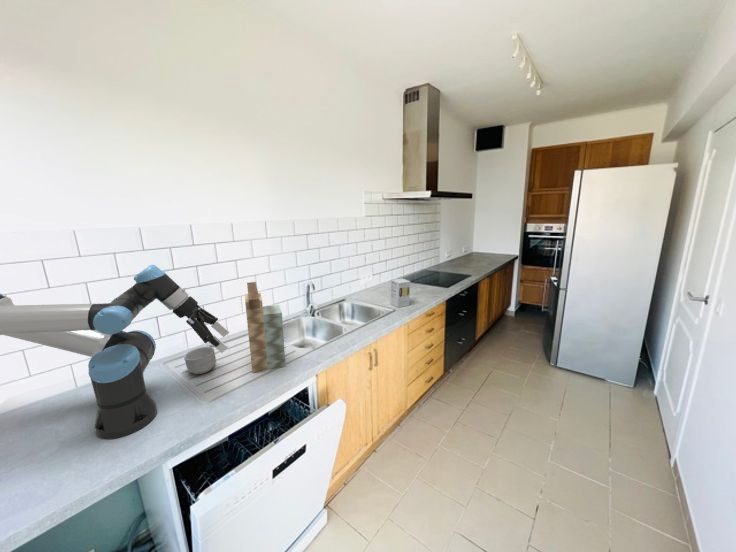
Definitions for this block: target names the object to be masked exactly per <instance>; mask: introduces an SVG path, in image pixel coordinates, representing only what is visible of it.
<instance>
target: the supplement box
mask: <svg viewBox="0 0 736 552" xmlns="http://www.w3.org/2000/svg"><path fill="white" fill-rule="evenodd" d="M410 292H411V281H410V280H407V279H406V278H395V279H391V281H390V300H389V301H390V304H391V305H392V306H395V307H396V308H403V307H408V306H410V295H411V293H410Z"/></svg>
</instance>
